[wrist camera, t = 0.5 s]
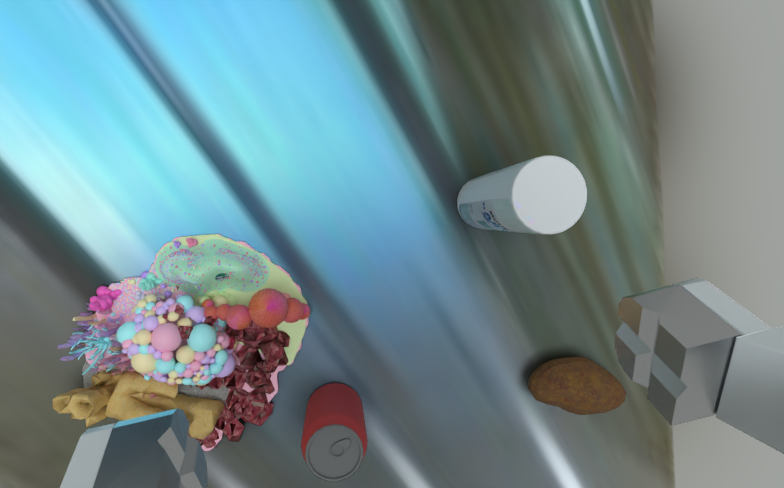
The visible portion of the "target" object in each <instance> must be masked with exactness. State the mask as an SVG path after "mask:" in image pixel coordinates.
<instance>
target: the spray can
mask: <svg viewBox="0 0 784 488" xmlns="http://www.w3.org/2000/svg"><path fill="white" fill-rule="evenodd" d="M586 201H587V189H586V184H585V180H584V178H583V176H582V174H581V172H580V171H579V170H578V169H577V168H576V167H575V165H574V164H572V163H571V162H569V161H568V160H566V159H564V158H561V157H558V156H541V157H537V158H533V159H530V160H527V161H524V162H521V163H518V164H515V165H512V166H509V167H506V168H503V169H500V170H497V171H494V172H491V173H488V174H485V175H482V176H479V177H476V178H473V179H471V180H470V181H468V182H467V183H466V184H465V185H464V186H463V187H462V189H461V190H460V192H459V195H458V198H457V208H458V212H459V214H460V216H461V218H462V219H463V220H464V221H465V222H466V223H467V224H468V225H470V226H472V227H474V228H478V229H487V230H499V231H511V232H522V233H534V234H556V233H560V232H563V231H565V230H567V229H568V228H570V227H572V226H573V225H574V224H575V223H576V222H577V221H578V220H579V218H580V216H581V215H582V213H583V211H584V208H585V205H586Z"/></svg>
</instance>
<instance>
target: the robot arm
mask: <svg viewBox="0 0 784 488" xmlns="http://www.w3.org/2000/svg"><path fill="white" fill-rule="evenodd" d="M618 316H619V317H620V318H621V319H622V320H623V321H624V323H623V324H622V326H621V327H620V328H619V330H618V331H617V332H616V337H615V349H616V353H617V356H618V360H619V362H620V364H621V366H622V368H623V369H624V371H625V372H626V374H627V375H628V376H629V377H630V378H631V380H632V381H634V382H636V383H639V384H641V385H643V386H645V387H648V400H649V401H650V402H651V403H652V404H653V405H654V406H655V408H656V409H657V410H658V411H659V412H660V413H661V415H662V416H663V417H664V418H665V419H666V420H667V421H668V423H669V424H670V425H671V426H673V425H677V424H681V423H685V422H689V421H693V420H697V419H701V418H705V417H709V416H713V415H716V418H718V419H720V420H722V421H724V422H725V423H727V424H729V425H731V426H733V427H735V428H737V429H738V430H740V431H742V432H744V433H746V434H748V435H750V436H751V437H753V438H755V439H757V440H759V441H761V442H763V443H765V444H766V445H768V446H770V447H772V448H774V449H776V450H778V451H779V452H781V453H783V454H784V327H781V326H777V327H773V328H771V327H770V326H768V325H767V324H766V323H764V322H763V321H761V320H760V319H759V318H757V317H756V316H754V315H753V314H752V313H751V312H749V311H748V310H746V309H745V308H744V307H742V306H741V305H740V304H738V303H737V302H736V301H734V300H733V299H731V298H730V297H729V296H727V295H726V294H725V293H723V292H722V291H721V290H719V289H718V288H716V287H715V286H713V285H712V284H711V283H710V282H708V281H707V280H704V279H701V278H694V279H691V280H687V281H683V282H680V283H676V284H673V285H671V286H665V287H661V288H658V289H654V290H650V291H646V292H642V293H638V294H634V295H630V296H627V297H623V298H622V300H621V302H620V303H619V308H618ZM189 425H190V422H189V421H188V419H187V417H186V415H185V413H184V411H183V410H181V409H173V410H168V411H164V412H159V413H155V414H150V415H146V416H142V417H137V418H133V419H128V420H124V421H119V422H118V423H114V424H109V425H105V426H100V427H95V428H91V429H88V430H87V431H85V432H84V433H83V434H82V435H81V437H80V439H79V441H78V444H77V446H76V449H75V451H74V454H73V456H72V459H71V461H70V464H69V466H68V469H67V471H66V474H65V476H64V479H63V481H62V484H61V486H60V488H207V480H208V479H207V466H206V460H205V456H204V452H203V449H202V447H201V445H200V443H199V441H198V440H197V439H194V438H192V437H190V436H188V431H189Z"/></svg>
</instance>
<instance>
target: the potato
mask: <svg viewBox="0 0 784 488" xmlns="http://www.w3.org/2000/svg"><path fill="white" fill-rule="evenodd" d="M528 388H529V390H530V391H531V393H532V395H533V396H534V398H535V399H536V400H537V401H540V402H543V403H546V404H549V405H553V406H558V407H560V408H562V409H564V410H566V411H568V412H571V413H574V414H578V415H586V414H597V413H605V412H608V411H611V410H613V409H615V408H617V407H619V406H620V405H621V404H622V403H623V402H624V401H625V396H626V392H625V390H624V388H623V386H622V384H621V383H620V382H619V381H618V380H617V379H616V378H615V377H614V376H613V375H612V374H611V373H609V372H608V371H607V370H605V369H604V368H602V367H601V366H600V365H598V364H597V363H595V362H593V361H592V360H590V359H587V358H584V357H567V358H558V359H554V360H550V361H548V362H546V363H544V364H542V365H540V366H539V367H538V368H537V369H536V370H534V372H533V373H532V375H531V376H530V378H529V387H528Z"/></svg>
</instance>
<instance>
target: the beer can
mask: <svg viewBox="0 0 784 488" xmlns="http://www.w3.org/2000/svg"><path fill="white" fill-rule="evenodd" d="M301 448H302V453H303V457H304V459H305V461H306V463H307V465H308V467H309V469H310V470H311V472H312V473H313V474H314V475H316V476H317V477H318V478H320V479H323V480H325V481H335V482H336V481H340V480H344V479H346V478H348V477H349V476H351V475H353V474H354V473H355V471H356V470H357V469H358V468H359V466H360V464H361V462H362V460H363V457H364V455H365V453H366V449H367V434H366V428H365V421H364V414H363V407H362V403H361V399H360V397H359V396H358V394H357V392H355V391H354V390H353V389H352V388H351V387H349V386H347V385H344V384H341V383H331V384H326V385H324V386H322V387H320V388H318V389H317V390H316V391H315V392H314V393H313V394H312V395H311V397H310V399H309V401H308V403H307V409H306V415H305V422H304V428H303V435H302V443H301Z"/></svg>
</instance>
